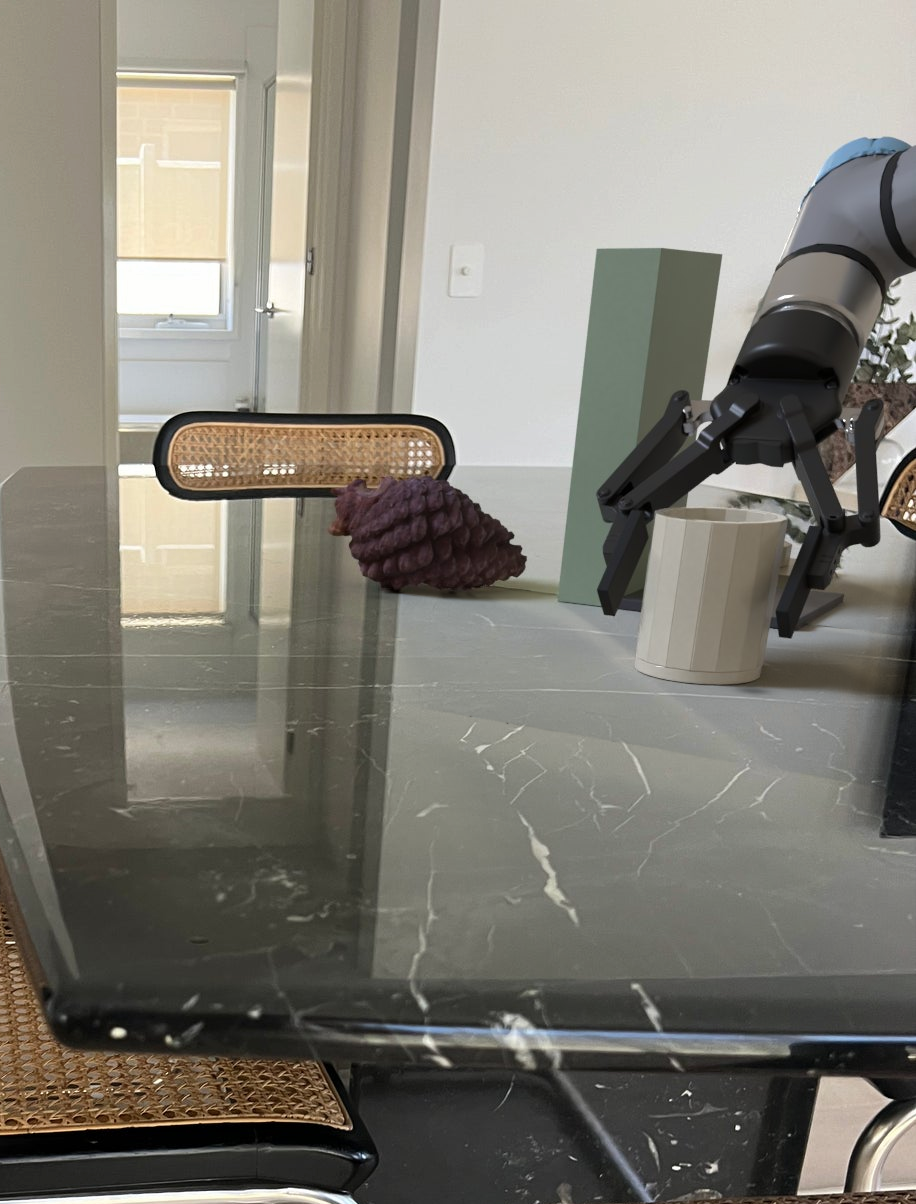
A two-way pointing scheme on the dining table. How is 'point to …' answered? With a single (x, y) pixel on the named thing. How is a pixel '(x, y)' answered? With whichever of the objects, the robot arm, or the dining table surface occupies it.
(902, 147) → the robot arm
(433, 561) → the pine cone
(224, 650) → the dining table surface
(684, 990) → the dining table surface
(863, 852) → the dining table surface
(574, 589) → the coffee machine
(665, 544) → the cup
